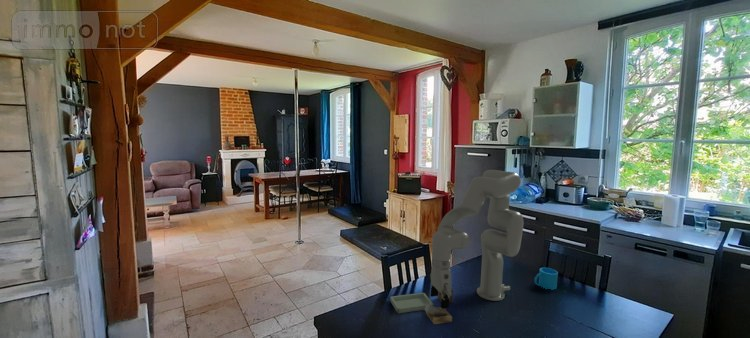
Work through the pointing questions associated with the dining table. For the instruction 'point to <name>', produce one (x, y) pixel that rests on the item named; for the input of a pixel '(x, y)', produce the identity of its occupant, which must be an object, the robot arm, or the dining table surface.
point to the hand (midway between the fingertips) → (439, 301)
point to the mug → (547, 278)
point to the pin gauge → (434, 310)
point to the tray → (410, 302)
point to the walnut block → (444, 295)
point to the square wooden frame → (440, 319)
